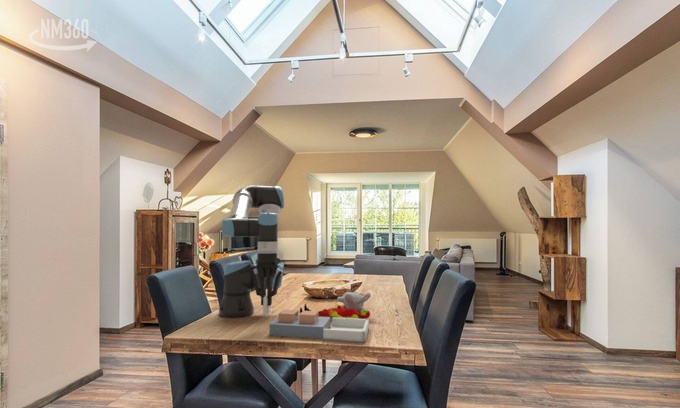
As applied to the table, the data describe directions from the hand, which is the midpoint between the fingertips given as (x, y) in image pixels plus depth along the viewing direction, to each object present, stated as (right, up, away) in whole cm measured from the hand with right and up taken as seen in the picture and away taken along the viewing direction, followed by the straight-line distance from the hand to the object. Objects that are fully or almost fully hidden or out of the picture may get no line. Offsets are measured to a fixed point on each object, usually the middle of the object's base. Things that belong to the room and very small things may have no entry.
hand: (266, 314), depth 139 cm
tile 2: (+17, -2, -3) cm, 17 cm away
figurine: (+27, -8, +16) cm, 32 cm away
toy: (+34, -8, +30) cm, 46 cm away
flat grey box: (+14, -6, -2) cm, 15 cm away
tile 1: (+9, -2, -1) cm, 9 cm away
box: (+31, -6, -5) cm, 32 cm away
